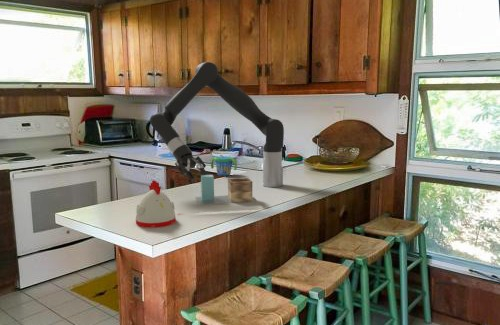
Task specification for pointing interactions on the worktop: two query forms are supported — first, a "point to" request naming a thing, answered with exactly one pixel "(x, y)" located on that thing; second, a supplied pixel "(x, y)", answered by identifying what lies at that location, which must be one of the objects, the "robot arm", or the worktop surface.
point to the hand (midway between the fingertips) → (200, 177)
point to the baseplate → (217, 200)
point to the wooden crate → (240, 189)
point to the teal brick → (207, 187)
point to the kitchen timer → (155, 208)
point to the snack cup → (223, 165)
